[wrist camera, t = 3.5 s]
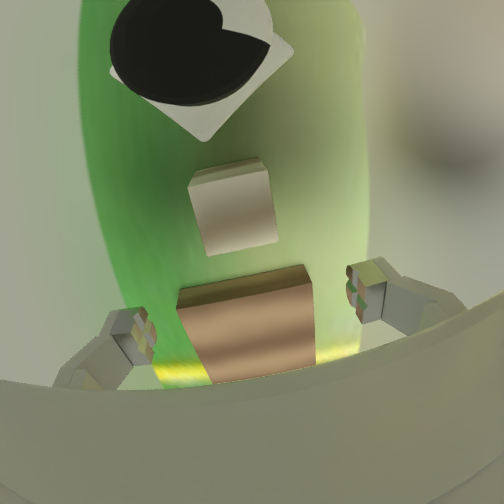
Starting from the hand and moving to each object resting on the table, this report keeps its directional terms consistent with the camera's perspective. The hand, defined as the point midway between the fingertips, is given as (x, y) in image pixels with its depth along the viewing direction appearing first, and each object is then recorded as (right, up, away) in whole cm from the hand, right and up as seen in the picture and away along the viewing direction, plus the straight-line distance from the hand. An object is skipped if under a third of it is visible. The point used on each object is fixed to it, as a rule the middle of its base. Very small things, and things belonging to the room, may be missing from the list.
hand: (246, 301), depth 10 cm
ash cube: (-1, +7, +11) cm, 13 cm away
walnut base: (0, -6, +18) cm, 19 cm away
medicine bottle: (-3, +15, +7) cm, 17 cm away
